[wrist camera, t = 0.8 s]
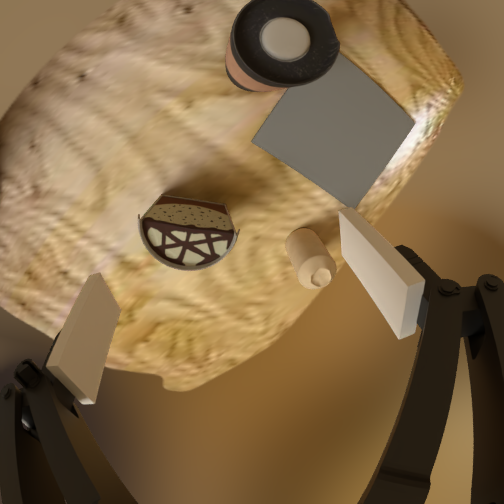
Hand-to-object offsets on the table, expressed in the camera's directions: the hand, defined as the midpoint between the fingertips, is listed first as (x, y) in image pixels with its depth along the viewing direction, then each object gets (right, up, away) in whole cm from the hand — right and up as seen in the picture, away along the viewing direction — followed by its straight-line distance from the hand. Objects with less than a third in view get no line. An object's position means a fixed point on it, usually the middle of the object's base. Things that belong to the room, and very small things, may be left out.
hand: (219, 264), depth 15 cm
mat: (+14, +18, +23) cm, 33 cm away
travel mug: (+2, +25, +18) cm, 30 cm away
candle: (+9, +2, +32) cm, 33 cm away
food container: (-7, +6, +28) cm, 29 cm away
